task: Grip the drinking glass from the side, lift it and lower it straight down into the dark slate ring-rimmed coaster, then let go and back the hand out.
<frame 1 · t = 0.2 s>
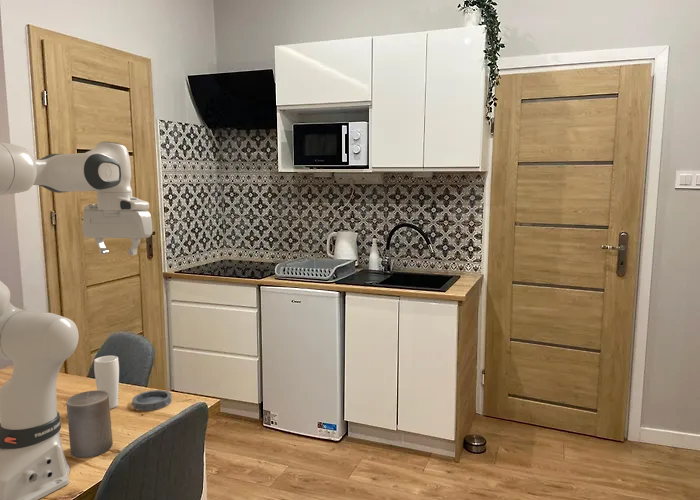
hand: (118, 254, 145), 48 cm above the table, tool pointing down, fingers open, 8 cm apart
coaster: (152, 403, 164), on the table
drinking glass: (109, 407, 162), on the table
pillar candle: (91, 449, 135), on the table
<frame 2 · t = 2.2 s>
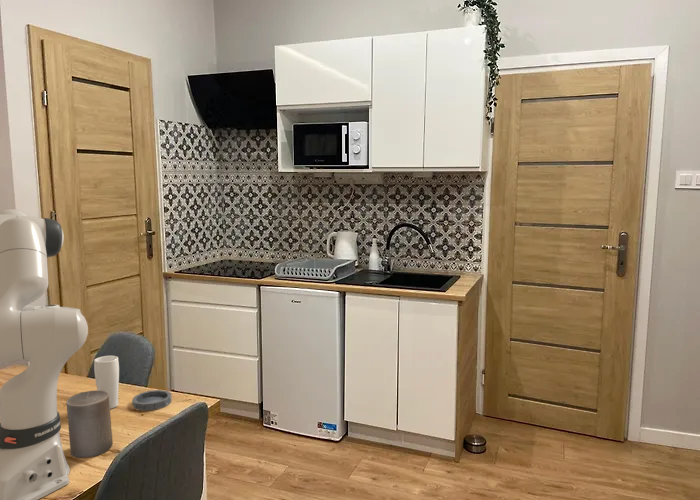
hand: (69, 323, 163), 25 cm above the table, tool horizontal, fingers open, 8 cm apart
nothing on the table moved.
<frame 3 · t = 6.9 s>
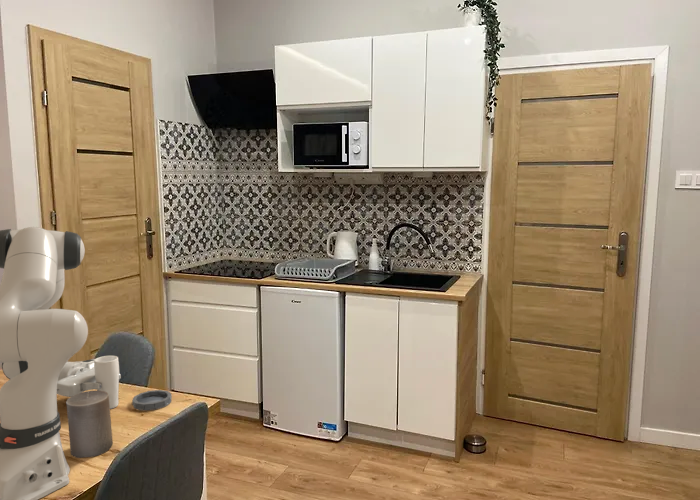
hand: (109, 381, 160), 8 cm above the table, tool horizontal, fingers closed on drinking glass, 6 cm apart
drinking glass: (109, 407, 162), on the table, touching gripper
everything else where it was.
when the fingers open (10 cm above the table, at t = 11.9 s): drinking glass stays where it is, resting on coaster.
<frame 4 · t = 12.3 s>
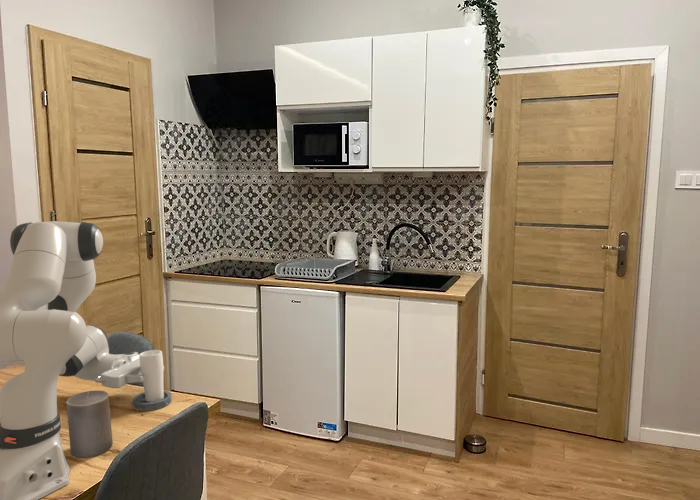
hand: (153, 373, 163), 10 cm above the table, tool horizontal, fingers open, 8 cm apart
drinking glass: (155, 400, 165), point 1 cm above the table, touching coaster, gripper
everything else where it was.
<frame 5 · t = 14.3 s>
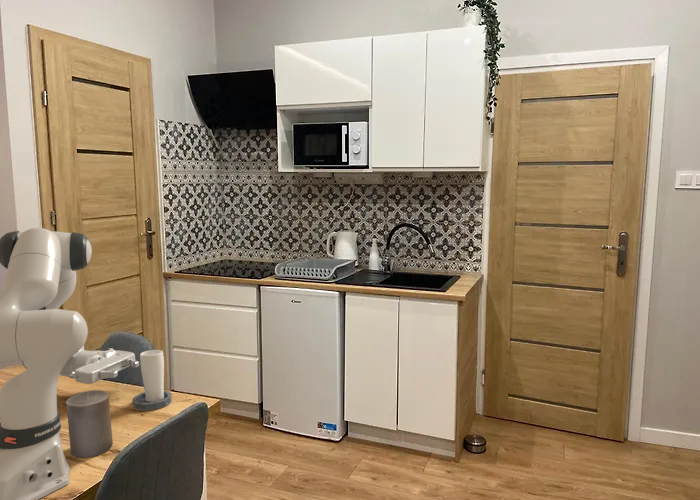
hand: (127, 369, 166), 10 cm above the table, tool horizontal, fingers open, 8 cm apart
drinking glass: (155, 400, 165), point 1 cm above the table, touching coaster
everything else where it was.
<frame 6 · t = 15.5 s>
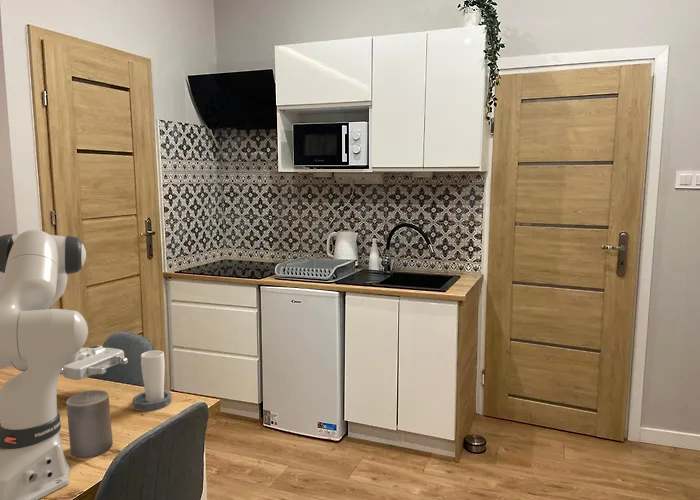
hand: (115, 366, 167), 11 cm above the table, tool horizontal, fingers open, 8 cm apart
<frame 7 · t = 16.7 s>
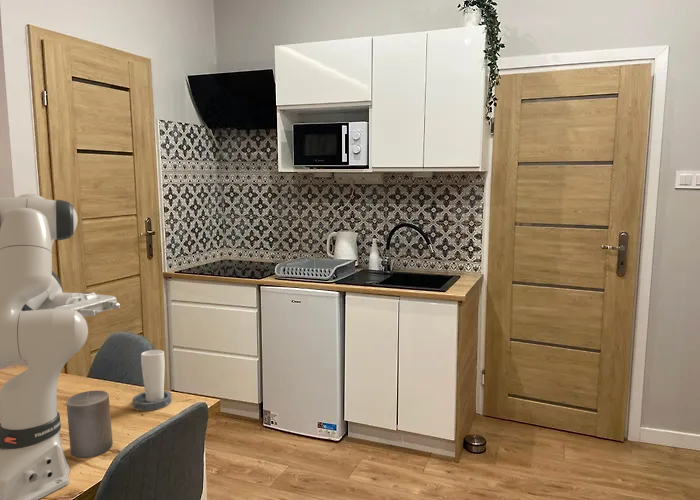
hand: (107, 309, 164), 29 cm above the table, tool horizontal, fingers open, 8 cm apart
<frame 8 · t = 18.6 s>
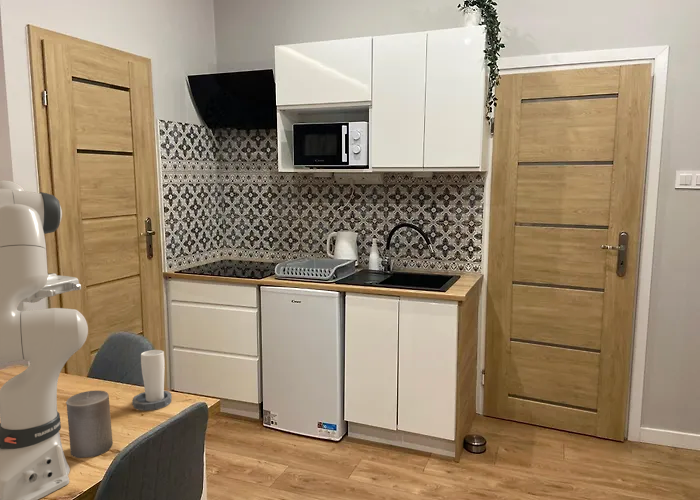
hand: (66, 290, 158), 36 cm above the table, tool horizontal, fingers open, 8 cm apart
nothing on the table moved.
at the end: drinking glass 0.8 cm off-centre on the coaster, point 0.5 cm above the coaster's base; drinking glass tilted 3°; the gripper is holding nothing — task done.
